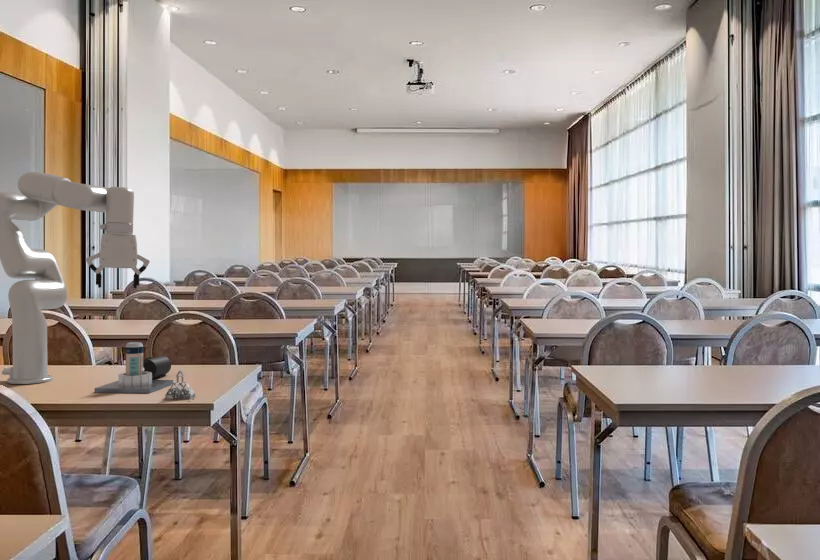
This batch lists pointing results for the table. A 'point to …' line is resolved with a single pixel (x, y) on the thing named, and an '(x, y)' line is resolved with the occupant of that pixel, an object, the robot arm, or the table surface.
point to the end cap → (157, 366)
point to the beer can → (134, 358)
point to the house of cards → (180, 393)
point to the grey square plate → (134, 384)
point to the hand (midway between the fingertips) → (117, 287)
